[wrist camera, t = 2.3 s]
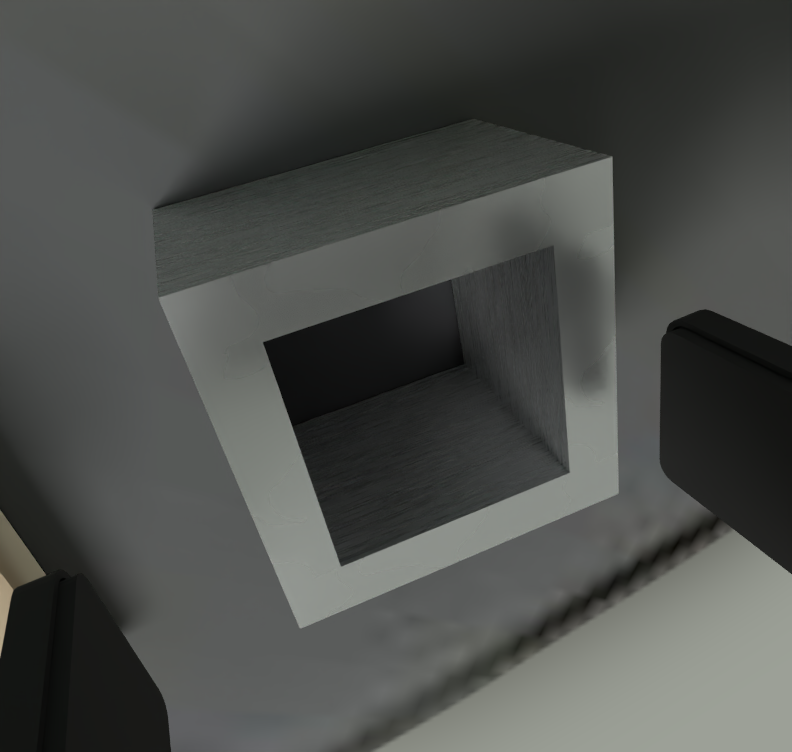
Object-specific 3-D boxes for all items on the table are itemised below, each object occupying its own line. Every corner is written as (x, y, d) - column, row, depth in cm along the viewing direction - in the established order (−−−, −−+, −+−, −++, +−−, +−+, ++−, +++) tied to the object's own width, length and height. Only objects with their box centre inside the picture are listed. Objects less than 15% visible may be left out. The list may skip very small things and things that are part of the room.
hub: (472, 118, 14) (612, 156, 10) (506, 384, 18) (618, 493, 14) (151, 209, 13) (158, 297, 9) (259, 476, 16) (299, 629, 12)
